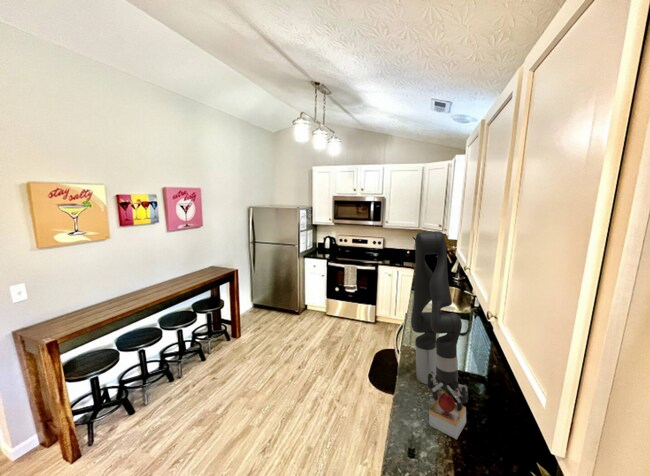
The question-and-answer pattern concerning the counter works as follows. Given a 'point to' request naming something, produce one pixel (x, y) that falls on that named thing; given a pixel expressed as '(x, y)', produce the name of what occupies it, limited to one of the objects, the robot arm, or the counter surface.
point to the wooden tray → (447, 419)
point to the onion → (446, 402)
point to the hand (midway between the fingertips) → (447, 404)
